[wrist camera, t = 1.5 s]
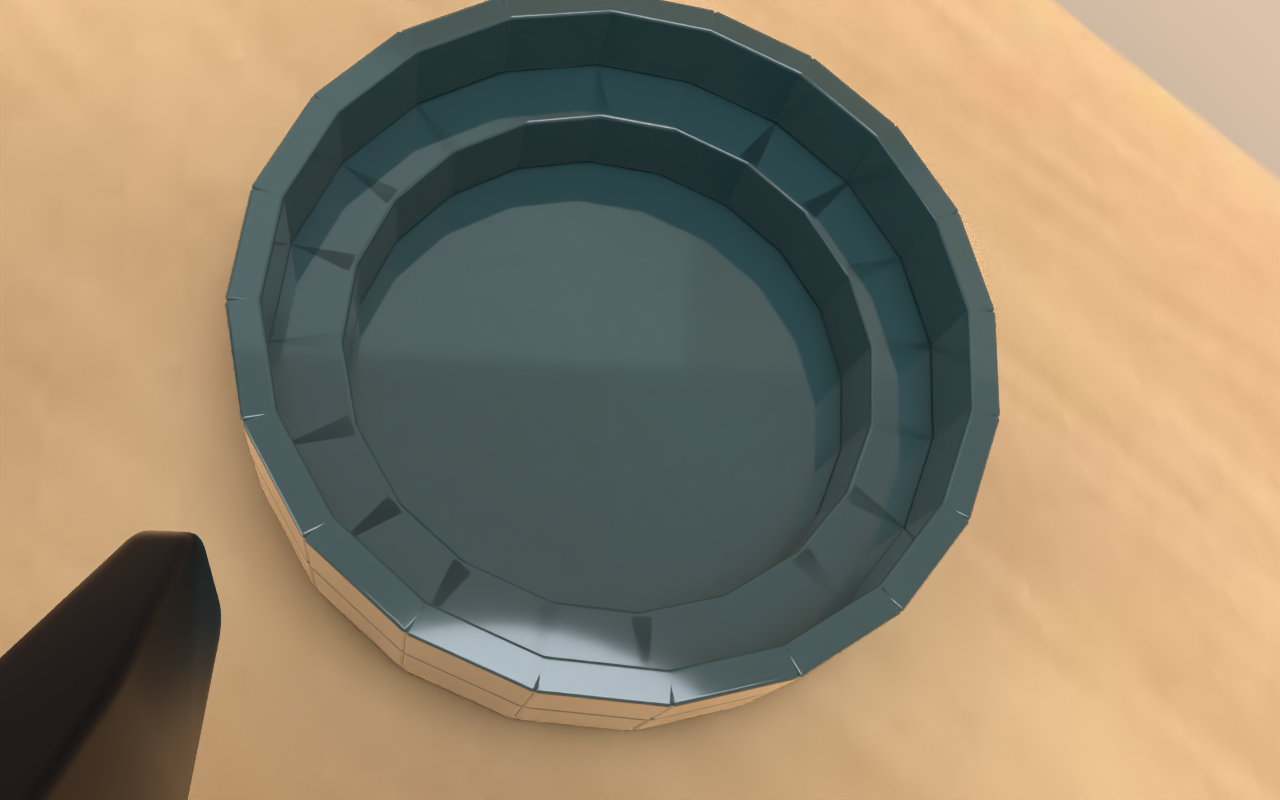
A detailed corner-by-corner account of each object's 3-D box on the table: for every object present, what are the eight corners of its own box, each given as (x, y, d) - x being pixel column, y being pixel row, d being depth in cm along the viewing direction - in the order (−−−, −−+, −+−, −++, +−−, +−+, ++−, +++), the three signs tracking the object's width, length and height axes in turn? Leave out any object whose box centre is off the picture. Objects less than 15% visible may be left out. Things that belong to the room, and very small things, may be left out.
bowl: (638, 895, 22) (689, 898, 18) (94, 387, 23) (41, 295, 20) (1027, 387, 27) (1126, 312, 24) (572, 5, 29) (599, -121, 25)
